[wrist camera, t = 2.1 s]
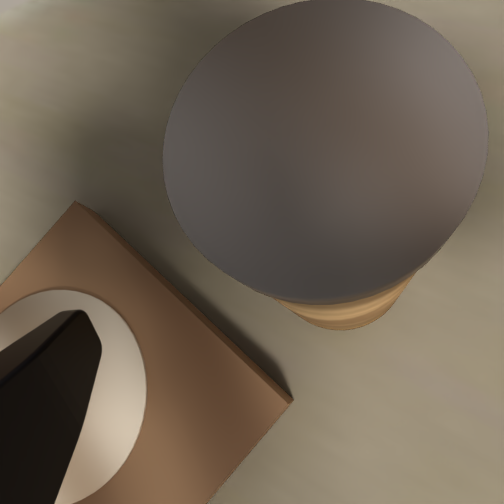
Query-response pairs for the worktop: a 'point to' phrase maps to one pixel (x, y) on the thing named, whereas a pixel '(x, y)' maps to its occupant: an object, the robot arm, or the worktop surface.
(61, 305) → the walnut board
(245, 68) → the tan jar with lid
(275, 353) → the worktop surface
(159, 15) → the worktop surface
